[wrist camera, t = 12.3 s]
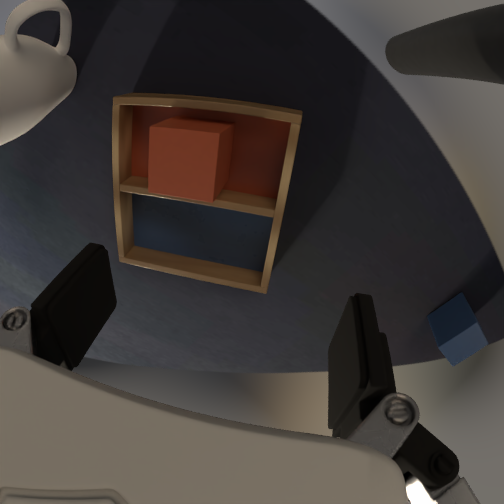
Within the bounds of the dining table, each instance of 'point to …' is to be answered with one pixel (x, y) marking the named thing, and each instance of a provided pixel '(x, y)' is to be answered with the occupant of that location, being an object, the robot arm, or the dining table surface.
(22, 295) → the dining table surface
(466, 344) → the blue block
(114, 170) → the tray
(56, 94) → the mug
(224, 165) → the terracotta block
